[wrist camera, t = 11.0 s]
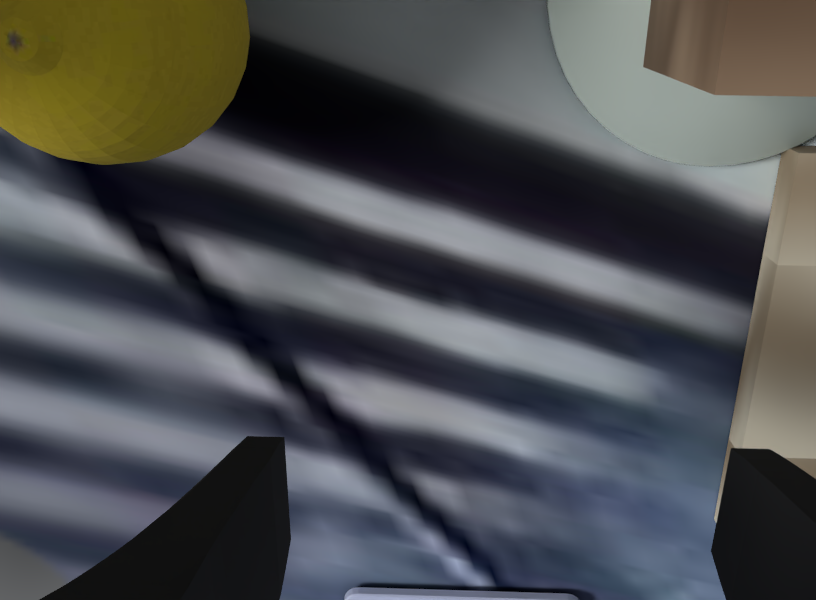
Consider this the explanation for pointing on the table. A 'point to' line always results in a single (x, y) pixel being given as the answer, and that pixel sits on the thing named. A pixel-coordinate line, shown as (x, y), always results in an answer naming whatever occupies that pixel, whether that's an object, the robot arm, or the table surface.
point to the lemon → (118, 73)
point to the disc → (665, 93)
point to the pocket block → (783, 327)
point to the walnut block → (735, 45)
